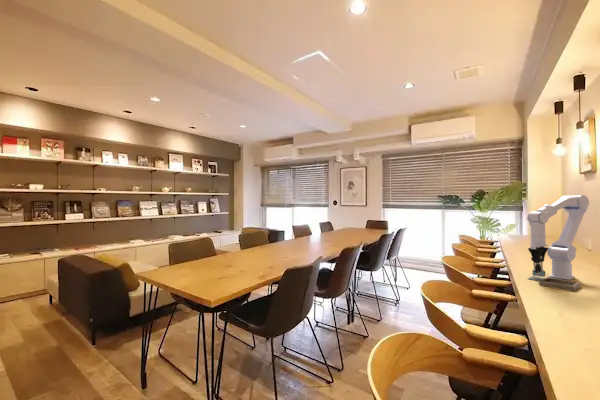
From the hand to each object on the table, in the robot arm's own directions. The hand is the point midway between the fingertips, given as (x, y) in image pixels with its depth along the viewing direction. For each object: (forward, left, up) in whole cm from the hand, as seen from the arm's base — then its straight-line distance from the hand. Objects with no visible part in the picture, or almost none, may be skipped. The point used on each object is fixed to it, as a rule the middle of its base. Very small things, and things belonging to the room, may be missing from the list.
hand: (538, 262), depth 143 cm
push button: (0, +1, -7) cm, 7 cm away
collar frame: (+6, +10, -9) cm, 14 cm away
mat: (0, 0, -9) cm, 9 cm away
